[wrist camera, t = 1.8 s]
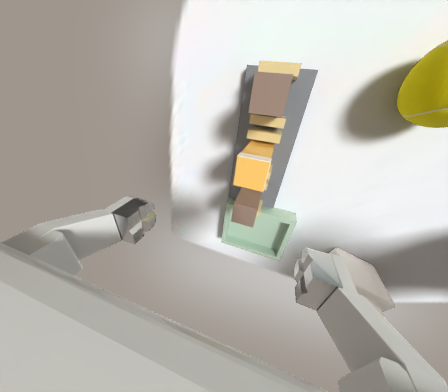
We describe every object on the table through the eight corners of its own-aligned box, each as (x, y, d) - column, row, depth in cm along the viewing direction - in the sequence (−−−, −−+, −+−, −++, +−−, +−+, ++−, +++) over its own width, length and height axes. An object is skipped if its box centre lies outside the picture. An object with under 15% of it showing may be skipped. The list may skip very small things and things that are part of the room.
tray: (295, 213, 28) (296, 222, 26) (279, 250, 33) (279, 261, 31) (230, 196, 30) (226, 203, 28) (225, 233, 36) (221, 242, 34)
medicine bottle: (343, 283, 32) (369, 362, 22) (310, 266, 33) (321, 336, 23) (374, 265, 28) (422, 352, 18) (335, 245, 29) (362, 321, 19)
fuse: (275, 140, 22) (270, 162, 14) (270, 161, 24) (262, 192, 16) (254, 136, 23) (237, 155, 15) (249, 157, 25) (232, 185, 16)
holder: (248, 66, 20) (227, 45, 13) (316, 71, 18) (338, 49, 11) (230, 194, 30) (212, 224, 23) (273, 204, 29) (269, 241, 21)
